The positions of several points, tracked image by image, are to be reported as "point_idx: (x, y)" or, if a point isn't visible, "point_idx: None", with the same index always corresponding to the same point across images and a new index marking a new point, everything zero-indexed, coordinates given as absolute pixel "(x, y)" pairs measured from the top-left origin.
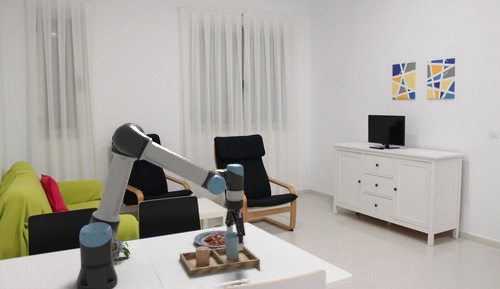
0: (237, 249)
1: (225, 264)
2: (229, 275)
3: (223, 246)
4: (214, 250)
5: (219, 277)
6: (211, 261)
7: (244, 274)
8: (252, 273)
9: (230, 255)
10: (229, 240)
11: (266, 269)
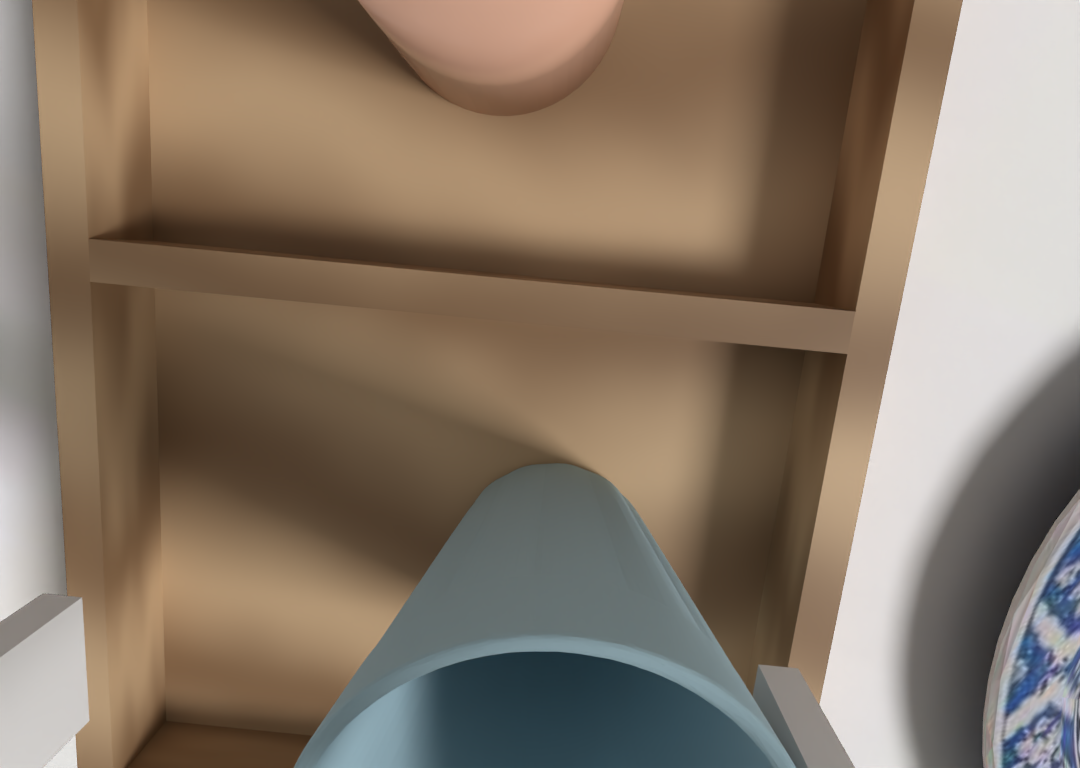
0: (18, 616)
1: (62, 249)
2: (36, 259)
3: (1018, 606)
4: (803, 341)
5: (12, 94)
6: (551, 180)
7: (6, 458)
8: (6, 561)
9: (469, 511)
10: (376, 657)
11: (70, 760)
